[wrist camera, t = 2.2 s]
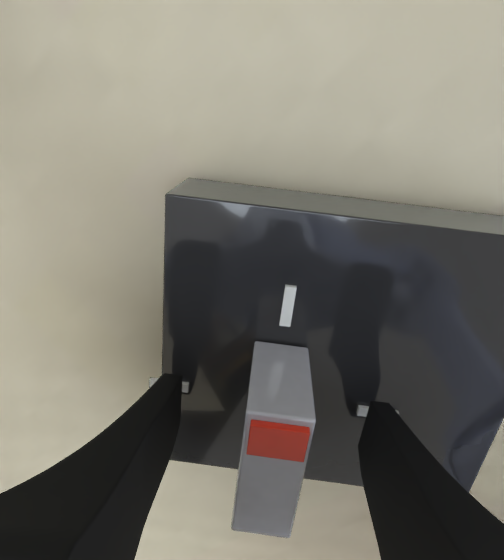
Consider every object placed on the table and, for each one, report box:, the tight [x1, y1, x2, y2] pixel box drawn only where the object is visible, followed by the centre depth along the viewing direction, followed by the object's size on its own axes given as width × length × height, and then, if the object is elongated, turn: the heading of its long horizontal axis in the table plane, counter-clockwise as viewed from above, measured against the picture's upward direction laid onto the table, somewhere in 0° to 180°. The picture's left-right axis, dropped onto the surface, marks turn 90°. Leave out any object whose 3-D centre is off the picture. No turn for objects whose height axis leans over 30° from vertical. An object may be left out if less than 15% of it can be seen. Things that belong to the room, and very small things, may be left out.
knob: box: [231, 341, 316, 538], centre depth 12 cm, size 5×2×4 cm, turn 174°
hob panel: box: [149, 178, 504, 493], centre depth 15 cm, size 11×12×3 cm
